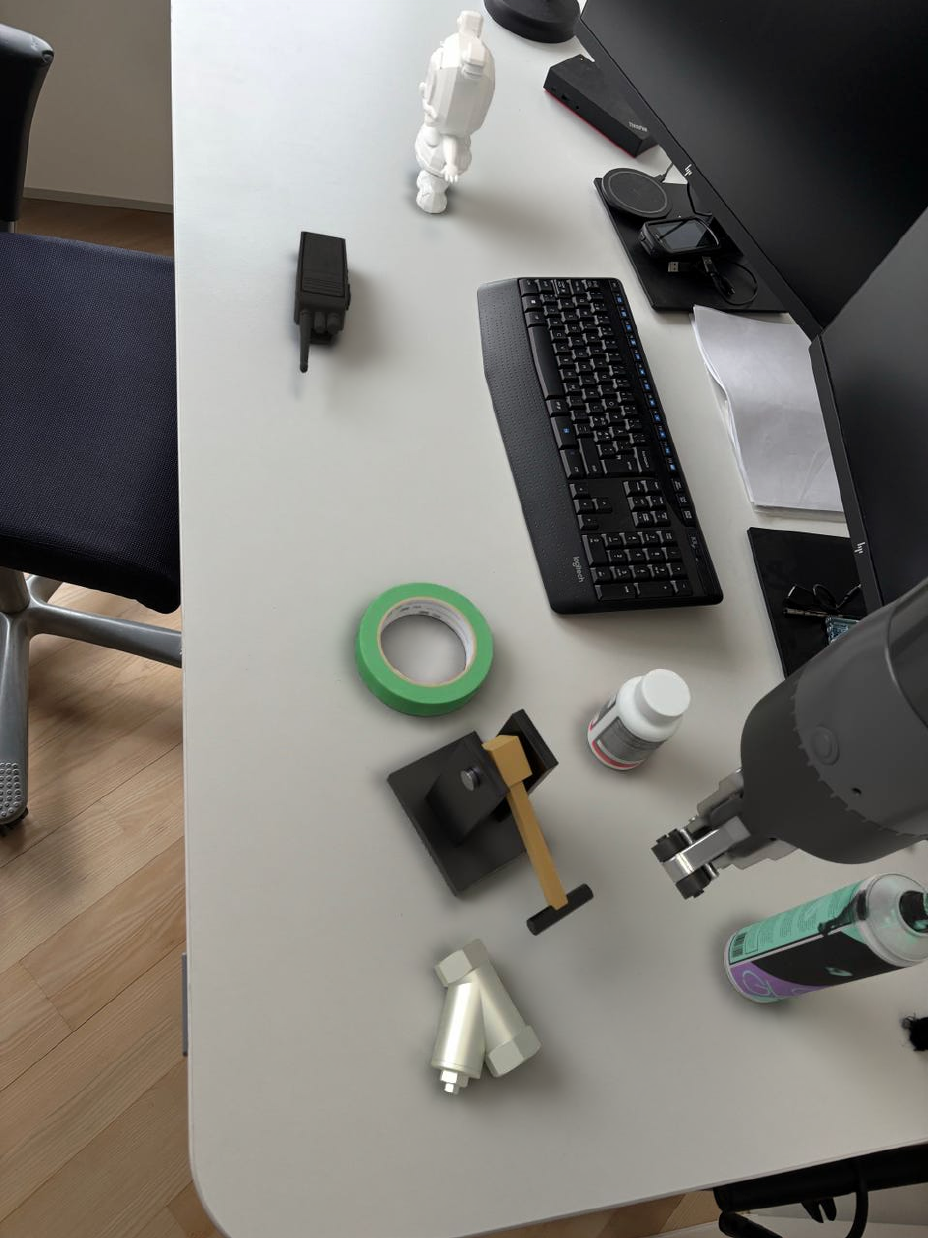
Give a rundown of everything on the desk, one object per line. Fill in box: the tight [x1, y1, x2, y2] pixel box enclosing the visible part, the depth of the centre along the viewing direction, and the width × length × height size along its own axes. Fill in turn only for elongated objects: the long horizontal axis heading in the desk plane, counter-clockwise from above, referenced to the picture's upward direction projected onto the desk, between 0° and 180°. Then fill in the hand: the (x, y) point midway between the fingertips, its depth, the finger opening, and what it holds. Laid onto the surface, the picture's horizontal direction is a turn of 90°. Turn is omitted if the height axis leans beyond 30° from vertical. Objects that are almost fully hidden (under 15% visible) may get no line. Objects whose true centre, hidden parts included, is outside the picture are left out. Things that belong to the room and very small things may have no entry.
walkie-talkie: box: [293, 230, 352, 374], centre depth 89 cm, size 6×6×20 cm
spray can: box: [723, 871, 928, 1004], centre depth 62 cm, size 6×6×20 cm
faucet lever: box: [482, 735, 594, 937], centre depth 62 cm, size 13×5×2 cm, turn 33°
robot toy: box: [414, 9, 496, 214], centre depth 98 cm, size 8×20×19 cm, turn 2°
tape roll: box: [354, 582, 494, 717], centre depth 75 cm, size 11×11×3 cm
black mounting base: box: [386, 708, 559, 896], centre depth 65 cm, size 10×8×13 cm
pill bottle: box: [587, 668, 692, 771], centre depth 73 cm, size 5×5×10 cm
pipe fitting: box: [430, 938, 542, 1095], centre depth 61 cm, size 8×4×7 cm
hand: (681, 858), depth 48 cm, fingers closed
